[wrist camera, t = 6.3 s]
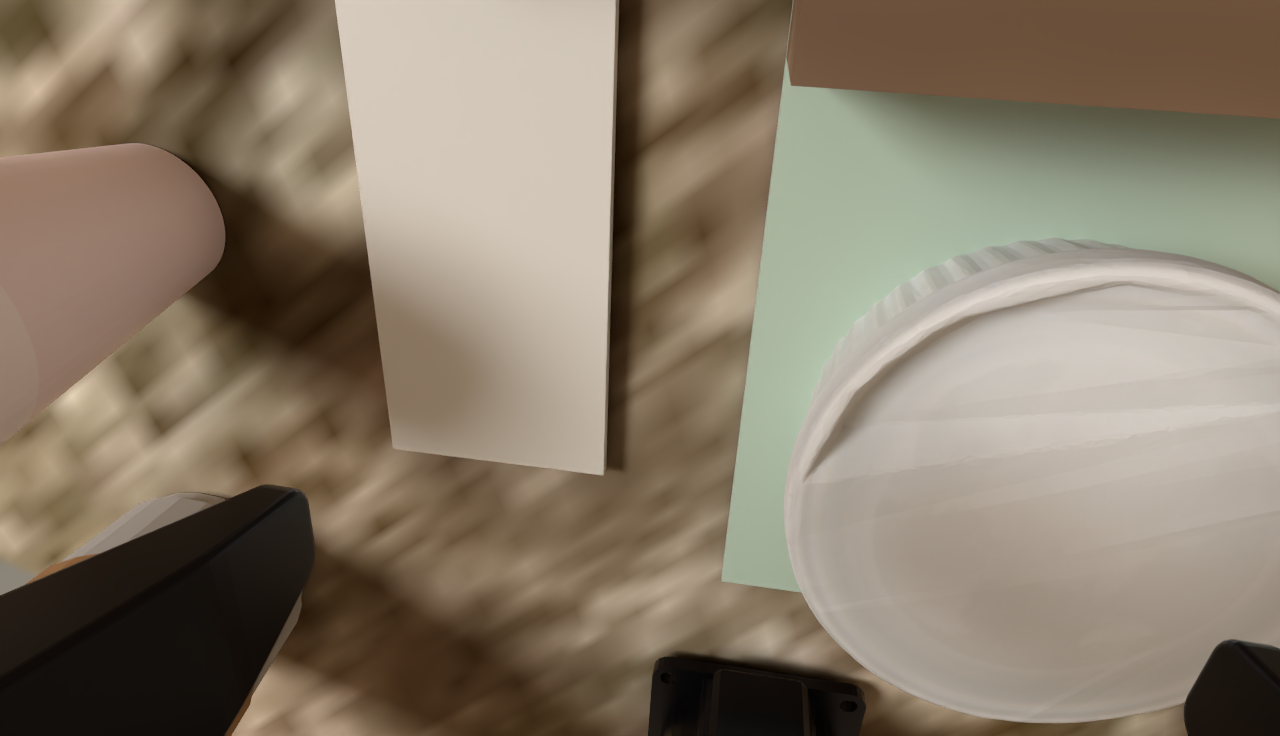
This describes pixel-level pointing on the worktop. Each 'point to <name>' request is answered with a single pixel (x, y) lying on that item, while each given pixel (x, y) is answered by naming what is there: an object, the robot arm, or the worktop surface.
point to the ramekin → (1046, 480)
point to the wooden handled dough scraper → (988, 174)
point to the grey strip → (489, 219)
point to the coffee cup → (148, 520)
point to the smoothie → (91, 261)
